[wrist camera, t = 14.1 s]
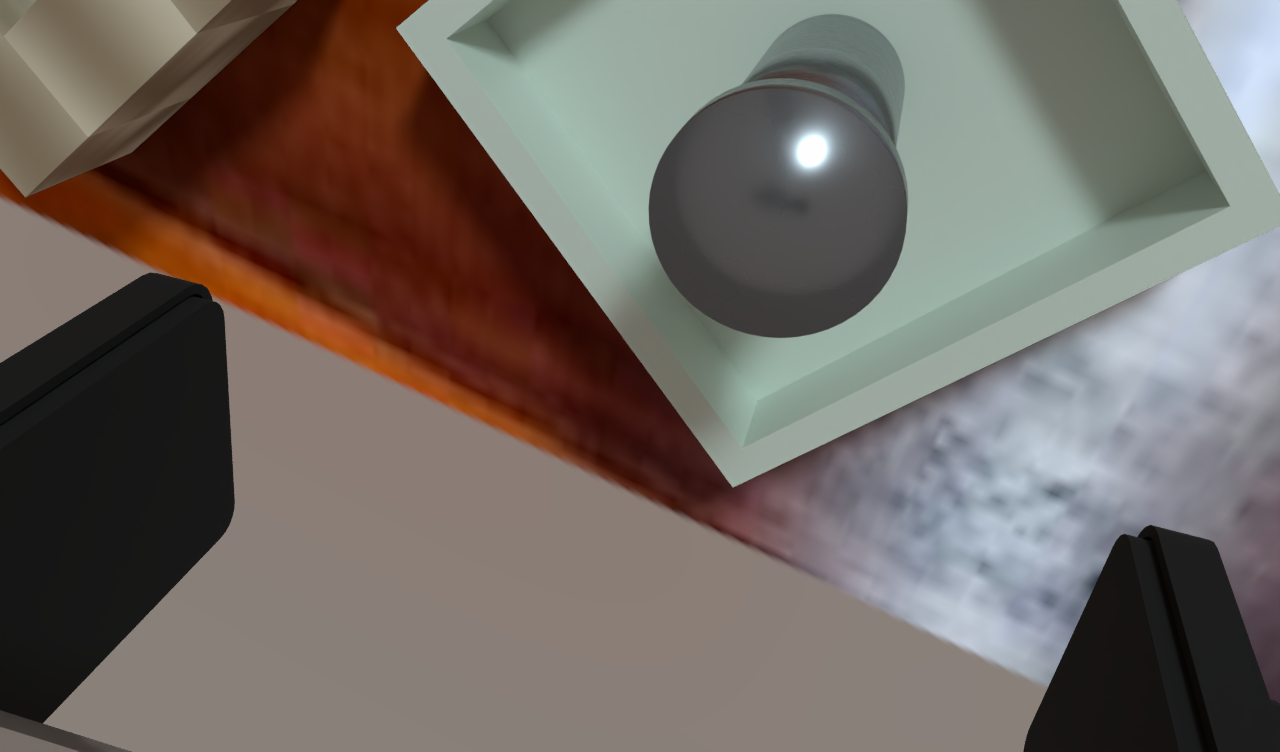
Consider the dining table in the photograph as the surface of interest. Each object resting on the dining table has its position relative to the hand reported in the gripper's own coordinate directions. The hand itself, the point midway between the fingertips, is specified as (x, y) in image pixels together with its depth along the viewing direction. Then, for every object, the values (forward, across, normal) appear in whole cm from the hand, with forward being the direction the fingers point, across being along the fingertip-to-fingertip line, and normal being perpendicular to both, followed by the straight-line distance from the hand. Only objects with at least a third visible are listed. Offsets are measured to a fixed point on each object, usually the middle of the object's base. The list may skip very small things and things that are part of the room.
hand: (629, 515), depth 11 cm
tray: (+22, 0, +1) cm, 22 cm away
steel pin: (+21, 0, +1) cm, 21 cm away
